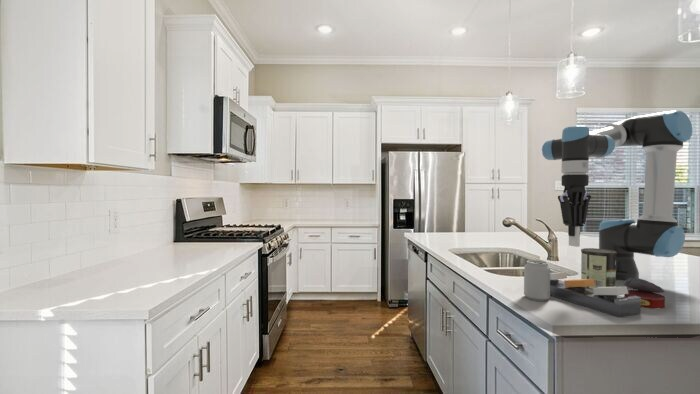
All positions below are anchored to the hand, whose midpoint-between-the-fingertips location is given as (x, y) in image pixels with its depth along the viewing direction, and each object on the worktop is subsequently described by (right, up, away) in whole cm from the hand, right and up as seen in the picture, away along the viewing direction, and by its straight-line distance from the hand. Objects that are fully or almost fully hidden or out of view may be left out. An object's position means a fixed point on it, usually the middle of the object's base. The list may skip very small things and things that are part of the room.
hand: (574, 245), depth 119 cm
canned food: (+18, -18, -6) cm, 26 cm away
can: (-13, -17, -1) cm, 22 cm away
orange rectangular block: (0, -12, -3) cm, 12 cm away
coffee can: (+13, -17, +8) cm, 23 cm away
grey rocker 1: (-4, -11, +5) cm, 13 cm away
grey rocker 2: (+3, -12, -12) cm, 17 cm away
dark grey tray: (0, -17, -3) cm, 17 cm away
